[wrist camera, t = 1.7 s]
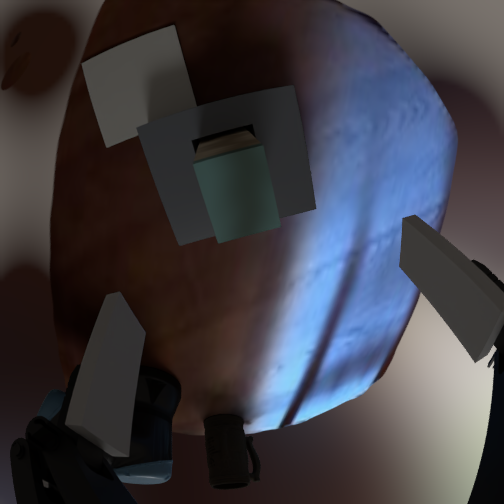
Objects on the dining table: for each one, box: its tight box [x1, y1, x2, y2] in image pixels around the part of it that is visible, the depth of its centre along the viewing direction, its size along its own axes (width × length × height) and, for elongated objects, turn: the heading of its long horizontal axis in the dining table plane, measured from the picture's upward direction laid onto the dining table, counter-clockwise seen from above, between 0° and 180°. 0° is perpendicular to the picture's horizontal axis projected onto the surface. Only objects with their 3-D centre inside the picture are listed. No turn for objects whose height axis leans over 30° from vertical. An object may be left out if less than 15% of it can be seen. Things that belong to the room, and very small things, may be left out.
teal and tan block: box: [193, 126, 281, 243], centre depth 27 cm, size 5×6×15 cm
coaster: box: [82, 25, 197, 148], centre depth 27 cm, size 12×12×1 cm
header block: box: [136, 85, 316, 246], centre depth 31 cm, size 16×14×6 cm
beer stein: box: [204, 415, 261, 489], centre depth 59 cm, size 15×11×20 cm
